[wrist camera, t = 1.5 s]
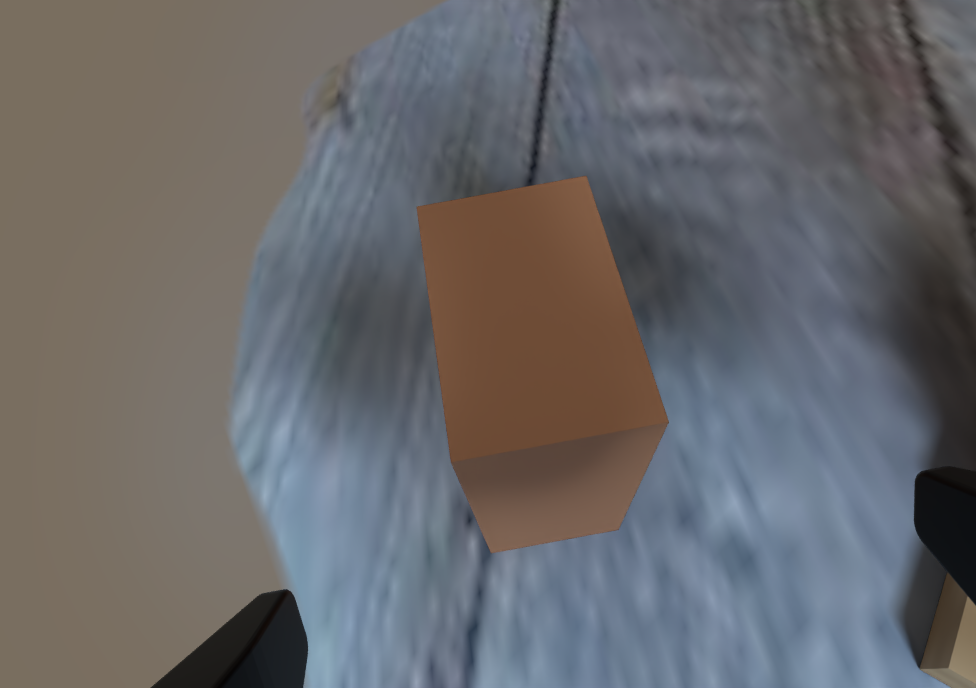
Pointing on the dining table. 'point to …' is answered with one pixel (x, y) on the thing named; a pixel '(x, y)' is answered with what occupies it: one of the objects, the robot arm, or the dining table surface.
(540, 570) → the dining table surface
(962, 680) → the wooden board with blocks
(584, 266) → the brown rectangular block
